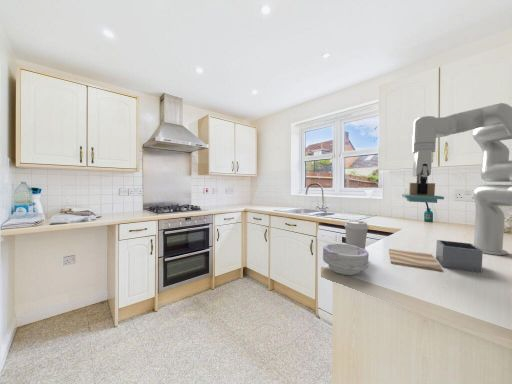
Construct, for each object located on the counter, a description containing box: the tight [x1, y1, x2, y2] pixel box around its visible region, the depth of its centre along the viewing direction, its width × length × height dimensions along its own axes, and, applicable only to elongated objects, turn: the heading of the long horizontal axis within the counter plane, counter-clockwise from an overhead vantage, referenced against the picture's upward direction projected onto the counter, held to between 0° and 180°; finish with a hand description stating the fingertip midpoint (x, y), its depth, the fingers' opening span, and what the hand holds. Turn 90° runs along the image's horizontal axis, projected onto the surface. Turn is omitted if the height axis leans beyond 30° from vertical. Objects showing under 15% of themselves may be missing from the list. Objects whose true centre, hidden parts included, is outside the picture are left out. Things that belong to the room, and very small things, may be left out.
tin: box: [435, 239, 484, 274], centre depth 87 cm, size 11×11×8 cm
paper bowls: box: [322, 242, 369, 276], centre depth 81 cm, size 15×15×8 cm
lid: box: [401, 182, 445, 204], centre depth 92 cm, size 12×12×8 cm
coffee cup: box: [343, 220, 370, 250], centre depth 96 cm, size 10×10×15 cm
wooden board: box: [388, 248, 443, 272], centre depth 94 cm, size 20×16×1 cm
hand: (421, 193), depth 92 cm, fingers closed on lid, 3 cm apart
